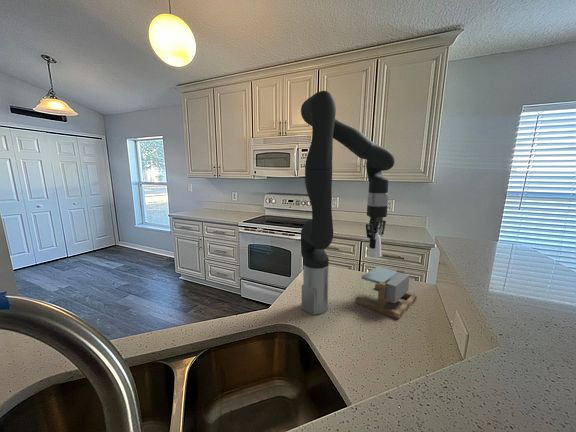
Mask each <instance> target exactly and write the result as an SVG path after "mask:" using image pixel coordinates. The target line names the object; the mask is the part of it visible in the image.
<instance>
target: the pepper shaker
mask: <svg viewBox="0 0 576 432" xmlns="http://www.w3.org/2000/svg"><path fill="white" fill-rule="evenodd" d="M374 231H375V230H374ZM379 231H380V230H379ZM379 231H378V234H377V235H376V246H375V248H374V249H373V248H370V247H369V245H370V241H369V243H368V249H367V256H368V257H369V258H375V259H376V258H381V257H382V243H381V241H382V240H381V239H382V236H381V237H380V235H379Z"/></svg>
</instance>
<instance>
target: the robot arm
mask: <svg viewBox="0 0 576 432" xmlns="http://www.w3.org/2000/svg"><path fill="white" fill-rule="evenodd" d="M336 105H337V104H336V101H335V98H334V96H333V95H332V93H330V92H329V91H327V90H321V91H318V92H315V93H314V94H313V95H311V96H310V97H308V98H307V99H306V100H305V101H303V102H302V105H301V108H300V115H301V118H302V119H303V121H304V122H305V123H306V124H307V125H309V126H311V127H312V132H311V134H312V135H311V142H310V146H309V148H308V152H307V155H306V159H305V162H304V163H305V165H304V166H305V167H304V185H305V190H306V193H307V196H308V199H309V202H310V206H311V219H310V220H307V221H305V223H303V225H302V226H301V230H300V248H301V249H300V250H301V251H300V253H301V257H302V260H303V262H302V263H303V273H302V275H303V279H302V280H303V282H302V283H303V284H302V285H301V310H303V311H305V312H306V313H309V314H310V315H313V316H316V315H320V314H321V315H322V314H324V313H326V312H328V310H329V309H328V308H329V270H330V269H329V268H330V266H329V263H330V261H329V256H328V255H327V252H326V251H325V249H327V248H329V246H331V244H332V242H333V239H334V223H333V211H332V210H333V209H332V201H333V200H332V195H333V194H332V193H333V191H332V190H333V189H332V188H333V185H332V184H333V149H334V147H333V143H334V140H335V141H337V142H338V143H339V144H340V145H342V146H344V147H345V148H346V149H348V150H349V151H350V152H352V153H353V154H354V155H355V156H356V157H358V158H359V159H361V160H365V161H366V162H365V169H366V174H367V179H368V184H369V185H368V194H367V204H366V216H367V217H369V223H366V224H365V232H366V234H365V235H366V238H368V239H369V242H370V245H369V244H368V248H369V247H370V248H373V249H374V248H375V246H376V235H377V234H378V231H379V230H380V231H379V235H380V237H381V238H382V237H383V235H384V233H385V228H386V224H387V221H386V220H384V218H387V217H388V216H387V215H388V206H389V196H388V194H389V193H388V192H389V179H388V178H387V177H384V176H383V173H382V171H383V172H385V171H389V170H391V169H392V168H393V167H394V165H395V161H396V160H395V157H394V155H393V153H392V152H391V151H389V150H388V149H386V148H385V147H383V146H381V145H380V144H377V143H375V142H373V141H372V140H371V139H370V138H369V137H367V135H366V134H364V133H363V132H361V131H360V130H358V129H356V128H354V127H351V126H349V125H347V124H345V123H343V122H341V121H339V120H338V119H336V113H337V106H336ZM374 230H375V231H374Z"/></svg>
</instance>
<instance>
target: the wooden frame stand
mask: <svg viewBox="0 0 576 432" xmlns="http://www.w3.org/2000/svg"><path fill="white" fill-rule="evenodd" d="M396 272H400V273H403V274H405V270H404V269H401V268H398V269H397V270H396ZM386 287H387V283H385V282H380V283H379V284H377V283H374V289H375V290H378V295H377V303H376V302H373V301H371V300H368V299H365V298H362V297H360V296H356V297H355V303H356V304H358V305H361V306H363V307H365V308H367V309H370V310H374V311H376V312H378V313H380V314H384V315H386V316H389V317H391V318H394V319H396V320H401V319H400V318H402V316H404V314H405V313H406V312H407V311H408V310H409V309H410V307H412V305H414V303H415V302H416V301H417V298H418V296H417V294H413V293H412V292H411V293H410V292H408V291H407V292H406V293H405V294H404V295H403V296H402V297H401V298H403V299H406V300H405V301H404V302H403V303H402V304H401V305H400V306H399V307H398V308H397V309H396V310H395V309H392V308H390V307H387V306H386V305H387V304H386Z"/></svg>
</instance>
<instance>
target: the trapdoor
mask: <svg viewBox="0 0 576 432" xmlns="http://www.w3.org/2000/svg"><path fill="white" fill-rule="evenodd" d="M361 279H362V280H365V281H367V282H371V283H374V284H376V283H377V284H379V283H380V282H385V283H387V287H386V301H387V302H390V303H392V304H396V303H398V301H399V300H401V298H403V297H402V296H403V295H404V294H405V293H406V292H407V293H408V292H409V285H410V274H406V273H404V274H403V273H400V272H397V270H396V271H395V270H391V269H388V268H384V267H380V266H376V267H375V268H373V269H371V270H369V271H368V272H367V273H364V274H363V275H361Z"/></svg>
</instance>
